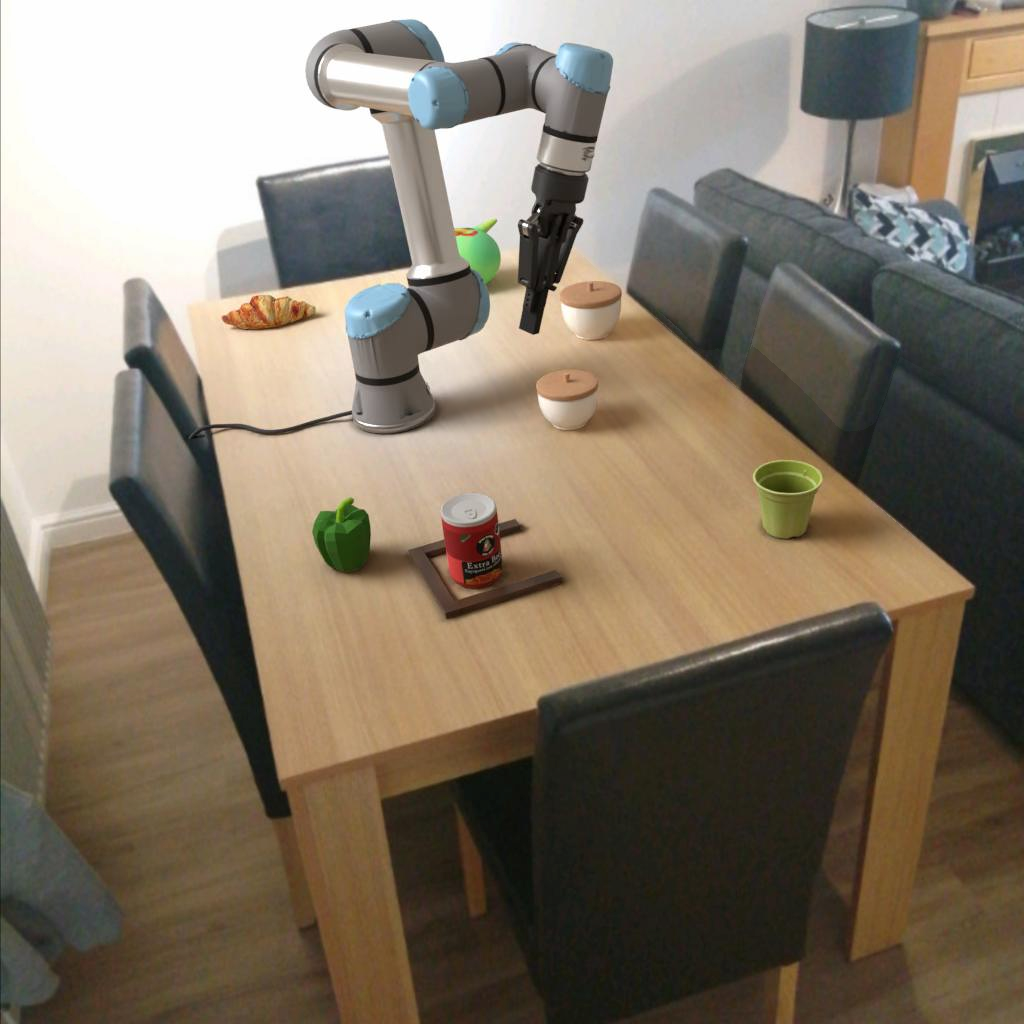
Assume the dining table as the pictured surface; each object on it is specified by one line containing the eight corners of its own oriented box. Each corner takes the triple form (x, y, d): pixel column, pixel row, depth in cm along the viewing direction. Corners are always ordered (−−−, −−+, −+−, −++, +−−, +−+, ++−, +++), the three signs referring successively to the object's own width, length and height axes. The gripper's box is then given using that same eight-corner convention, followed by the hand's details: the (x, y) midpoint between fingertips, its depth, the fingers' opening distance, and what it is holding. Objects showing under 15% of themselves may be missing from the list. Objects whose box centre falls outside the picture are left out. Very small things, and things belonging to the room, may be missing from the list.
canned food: (468, 596, 142) (459, 529, 136) (439, 570, 148) (429, 505, 142) (514, 575, 145) (507, 509, 140) (484, 550, 151) (476, 486, 145)
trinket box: (595, 437, 178) (593, 387, 173) (534, 436, 180) (530, 386, 175) (603, 408, 187) (601, 360, 182) (544, 408, 189) (541, 360, 184)
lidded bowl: (633, 326, 218) (632, 275, 212) (604, 349, 209) (602, 296, 203) (580, 318, 224) (578, 269, 218) (551, 340, 215) (547, 289, 209)
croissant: (319, 325, 243) (313, 291, 243) (316, 319, 233) (311, 284, 233) (227, 337, 241) (221, 302, 240) (221, 332, 231) (215, 296, 230)
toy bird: (421, 300, 242) (412, 238, 234) (437, 275, 256) (429, 215, 248) (496, 298, 239) (490, 235, 231) (509, 273, 253) (503, 213, 245)
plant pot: (805, 552, 144) (810, 499, 139) (741, 536, 149) (743, 484, 144) (827, 519, 151) (831, 467, 146) (764, 505, 155) (767, 454, 151)
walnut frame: (515, 524, 157) (515, 518, 156) (562, 582, 143) (561, 576, 142) (408, 555, 152) (407, 549, 151) (446, 619, 138) (445, 613, 138)
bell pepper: (328, 585, 147) (315, 526, 142) (314, 557, 154) (301, 499, 148) (384, 568, 150) (374, 509, 144) (368, 541, 156) (357, 483, 151)
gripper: (557, 178, 135) (522, 347, 146) (610, 174, 145) (574, 333, 156) (512, 162, 139) (481, 328, 150) (568, 159, 148) (535, 315, 160)
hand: (528, 330), depth 153 cm, fingers closed
